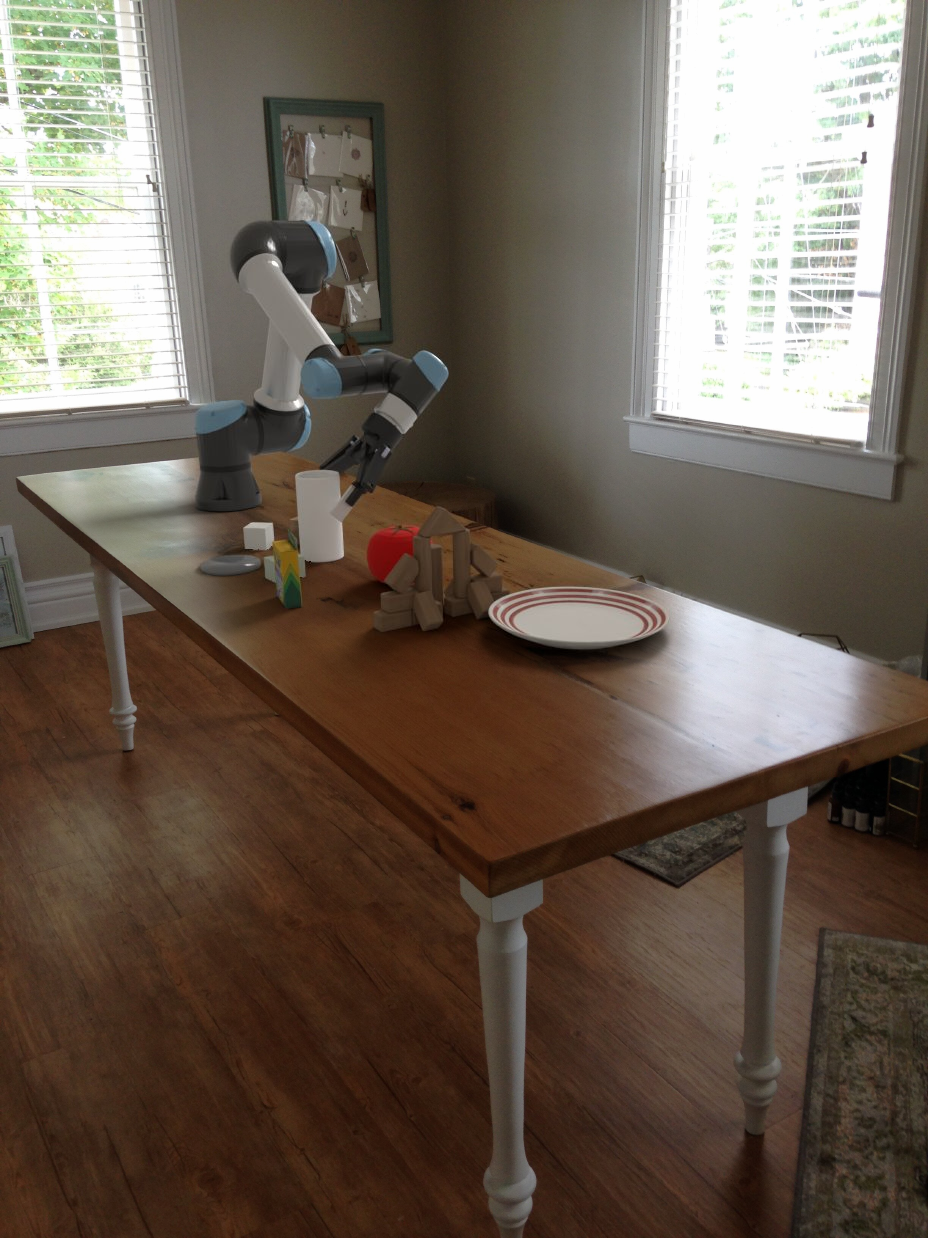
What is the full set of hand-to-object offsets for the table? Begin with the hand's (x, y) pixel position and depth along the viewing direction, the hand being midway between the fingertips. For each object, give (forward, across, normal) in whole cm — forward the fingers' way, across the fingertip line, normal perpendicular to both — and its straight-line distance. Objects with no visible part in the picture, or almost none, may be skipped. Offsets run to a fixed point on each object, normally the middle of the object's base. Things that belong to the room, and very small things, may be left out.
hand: (320, 510), depth 197 cm
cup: (+7, +1, -7) cm, 9 cm away
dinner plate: (-5, -59, -19) cm, 62 cm away
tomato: (+3, -23, -10) cm, 25 cm away
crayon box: (+18, -22, +4) cm, 29 cm away
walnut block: (+5, +13, -8) cm, 16 cm away
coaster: (+18, +3, +6) cm, 20 cm away
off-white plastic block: (+12, +14, -1) cm, 18 cm away
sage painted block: (+14, -8, +1) cm, 17 cm away
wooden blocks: (+5, -42, -9) cm, 44 cm away
